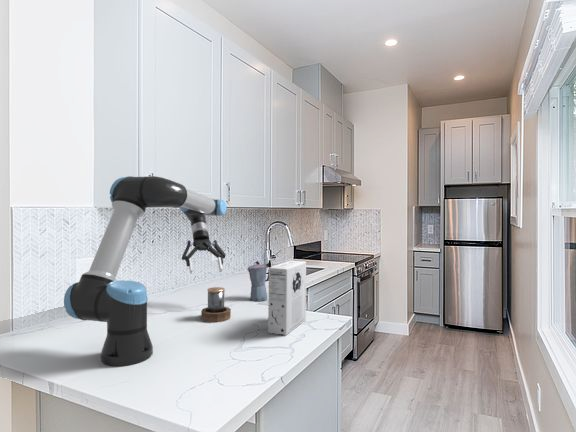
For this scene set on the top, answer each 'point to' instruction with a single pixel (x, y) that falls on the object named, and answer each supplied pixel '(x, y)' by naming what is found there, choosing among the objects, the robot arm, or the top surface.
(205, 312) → the wooden bowl
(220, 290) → the canister
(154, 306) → the top surface
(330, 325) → the top surface
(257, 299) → the moka pot
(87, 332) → the top surface
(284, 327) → the cereal box
